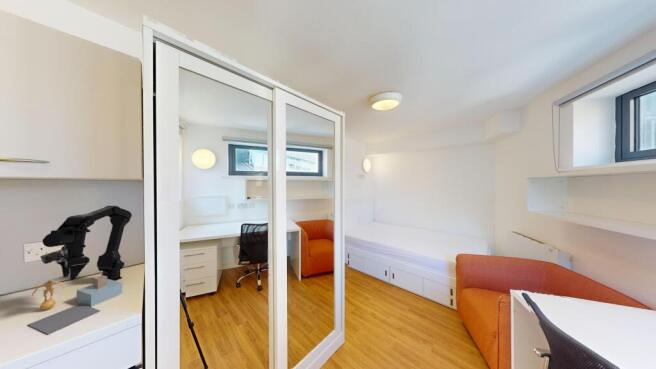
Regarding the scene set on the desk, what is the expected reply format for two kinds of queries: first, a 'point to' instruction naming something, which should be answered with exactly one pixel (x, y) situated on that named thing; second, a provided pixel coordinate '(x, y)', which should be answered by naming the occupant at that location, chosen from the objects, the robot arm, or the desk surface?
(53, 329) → the mat
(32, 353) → the desk surface
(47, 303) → the figurine
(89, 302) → the cover
